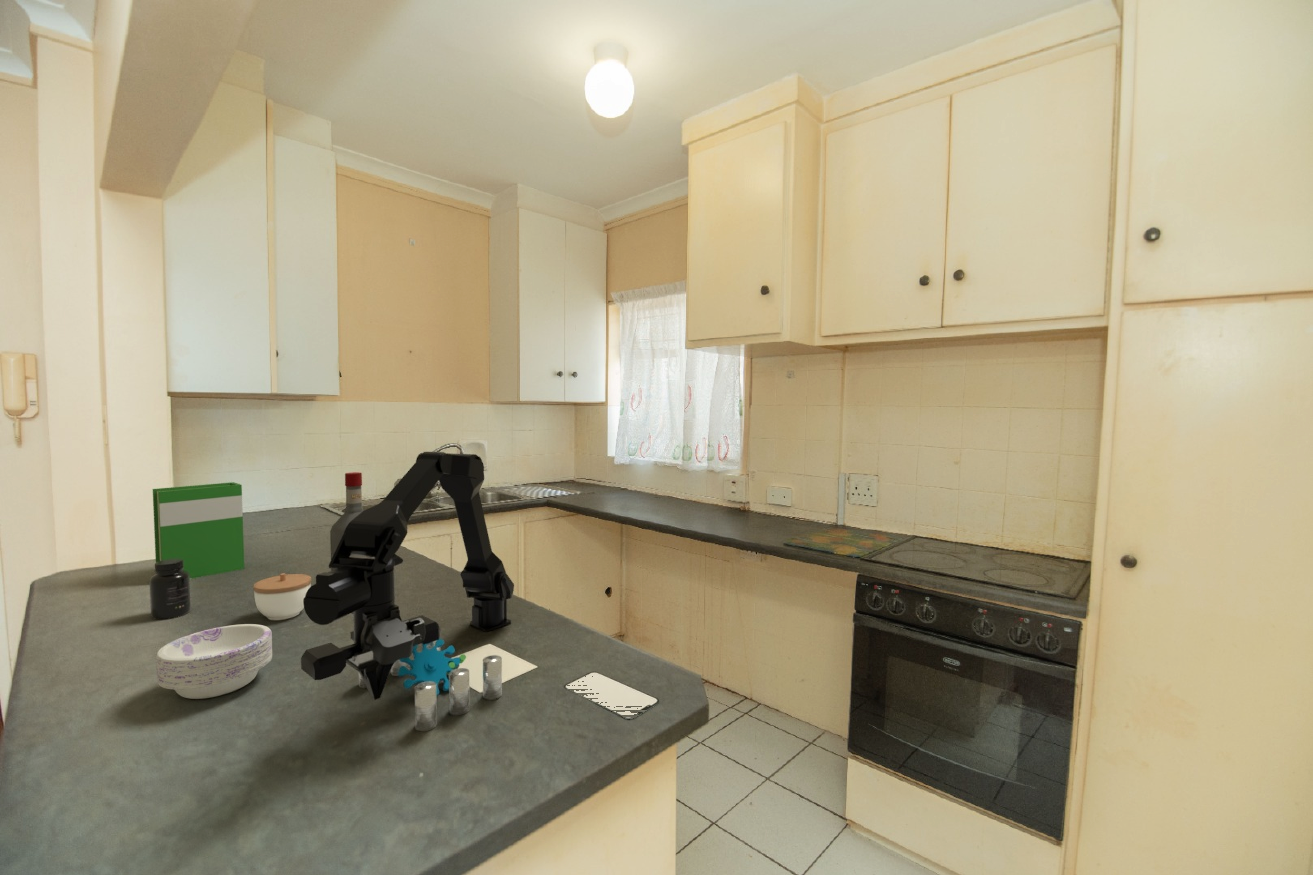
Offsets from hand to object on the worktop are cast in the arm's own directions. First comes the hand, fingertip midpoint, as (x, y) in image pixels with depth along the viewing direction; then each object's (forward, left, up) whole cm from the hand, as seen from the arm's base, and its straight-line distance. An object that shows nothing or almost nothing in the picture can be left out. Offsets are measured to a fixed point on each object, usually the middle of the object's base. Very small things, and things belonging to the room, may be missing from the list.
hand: (376, 698), depth 87 cm
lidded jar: (-4, -55, -2) cm, 55 cm away
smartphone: (-27, +24, -3) cm, 36 cm away
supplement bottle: (+12, -74, -2) cm, 75 cm away
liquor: (-21, -59, -2) cm, 63 cm away
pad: (-19, 0, -2) cm, 20 cm away
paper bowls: (+14, -28, -2) cm, 31 cm away
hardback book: (0, -106, -2) cm, 106 cm away
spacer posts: (-8, 0, -2) cm, 9 cm away
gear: (-9, 0, -2) cm, 10 cm away
